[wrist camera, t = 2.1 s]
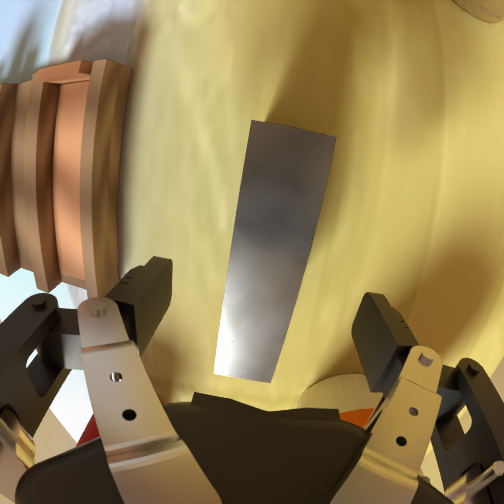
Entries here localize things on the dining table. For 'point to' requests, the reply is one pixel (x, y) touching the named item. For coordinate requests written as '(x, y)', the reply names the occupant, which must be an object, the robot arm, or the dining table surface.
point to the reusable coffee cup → (345, 399)
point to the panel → (270, 245)
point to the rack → (63, 174)
